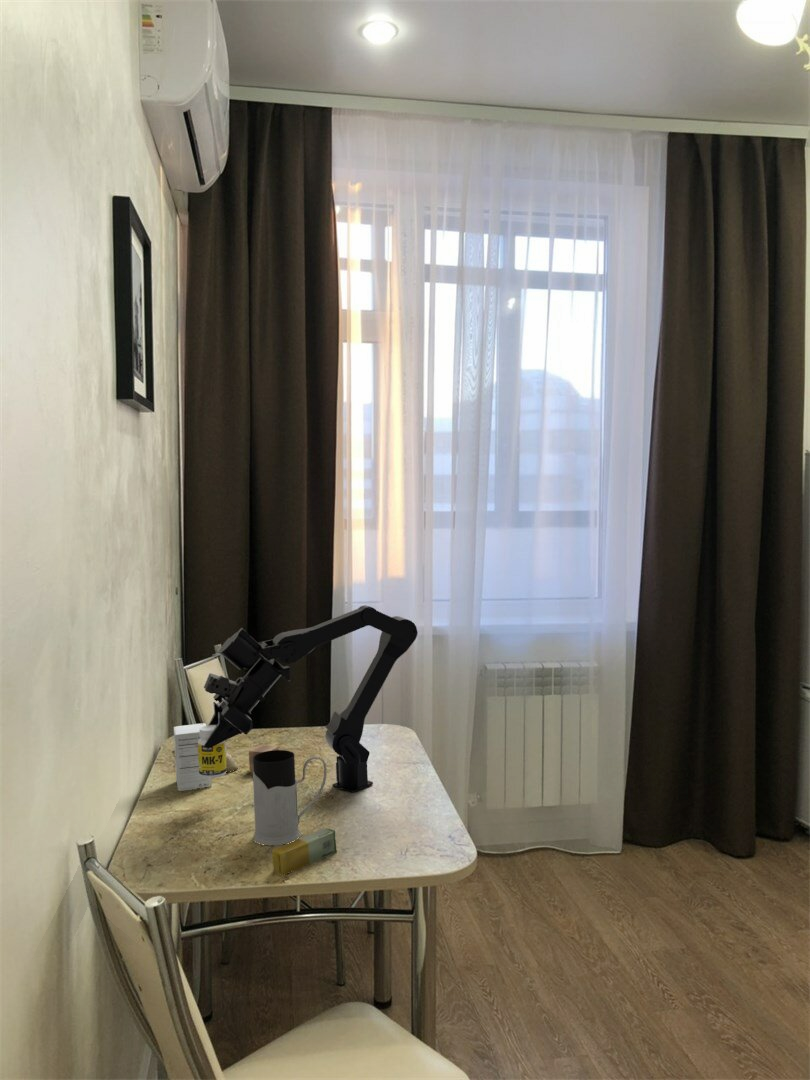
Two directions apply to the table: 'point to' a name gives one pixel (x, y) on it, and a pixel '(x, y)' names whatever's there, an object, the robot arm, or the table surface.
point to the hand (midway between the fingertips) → (204, 743)
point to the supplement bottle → (211, 755)
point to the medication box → (304, 851)
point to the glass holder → (277, 797)
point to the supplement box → (188, 757)
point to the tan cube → (259, 750)
